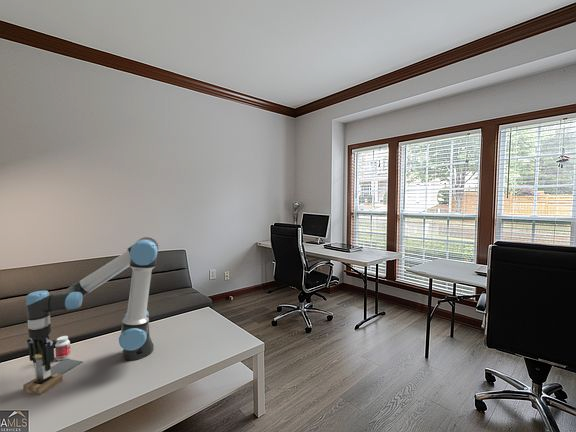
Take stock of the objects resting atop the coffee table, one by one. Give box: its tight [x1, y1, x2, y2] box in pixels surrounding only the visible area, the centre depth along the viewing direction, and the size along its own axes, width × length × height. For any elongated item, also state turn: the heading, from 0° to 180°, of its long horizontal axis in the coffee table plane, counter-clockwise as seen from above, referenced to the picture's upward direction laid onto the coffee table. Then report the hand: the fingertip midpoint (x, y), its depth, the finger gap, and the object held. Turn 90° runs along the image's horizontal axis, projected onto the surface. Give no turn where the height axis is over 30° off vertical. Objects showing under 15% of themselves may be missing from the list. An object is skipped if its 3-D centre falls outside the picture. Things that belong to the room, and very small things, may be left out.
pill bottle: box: [54, 335, 72, 362], centre depth 147 cm, size 6×6×11 cm
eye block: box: [22, 373, 64, 396], centre depth 124 cm, size 10×10×3 cm
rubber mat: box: [50, 358, 83, 376], centre depth 139 cm, size 11×11×1 cm
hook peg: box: [35, 351, 49, 385], centre depth 124 cm, size 5×5×16 cm
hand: (43, 376), depth 124 cm, fingers closed on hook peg, 4 cm apart
